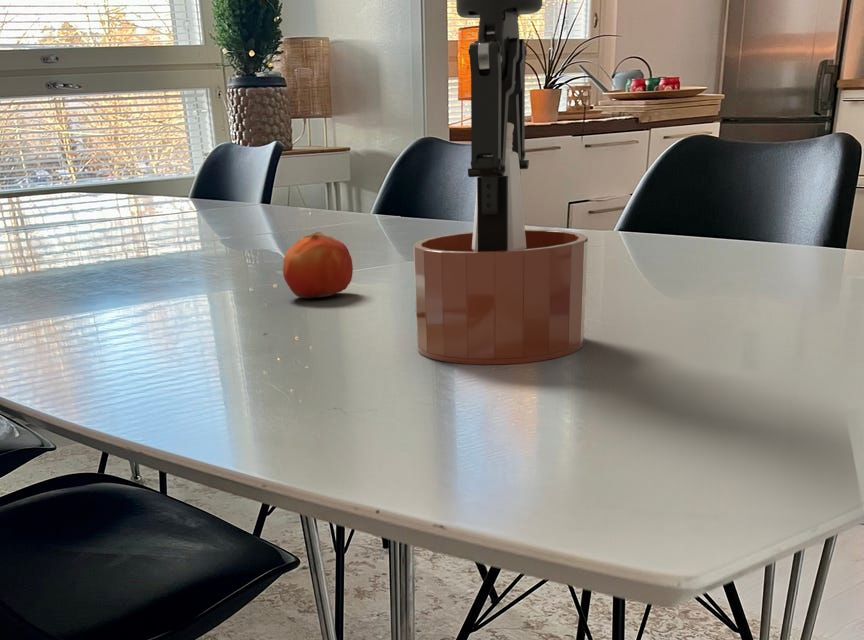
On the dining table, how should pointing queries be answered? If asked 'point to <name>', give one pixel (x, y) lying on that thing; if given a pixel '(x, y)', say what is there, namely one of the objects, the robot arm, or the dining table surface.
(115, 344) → the dining table surface
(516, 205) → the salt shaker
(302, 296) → the tomato
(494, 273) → the crock
